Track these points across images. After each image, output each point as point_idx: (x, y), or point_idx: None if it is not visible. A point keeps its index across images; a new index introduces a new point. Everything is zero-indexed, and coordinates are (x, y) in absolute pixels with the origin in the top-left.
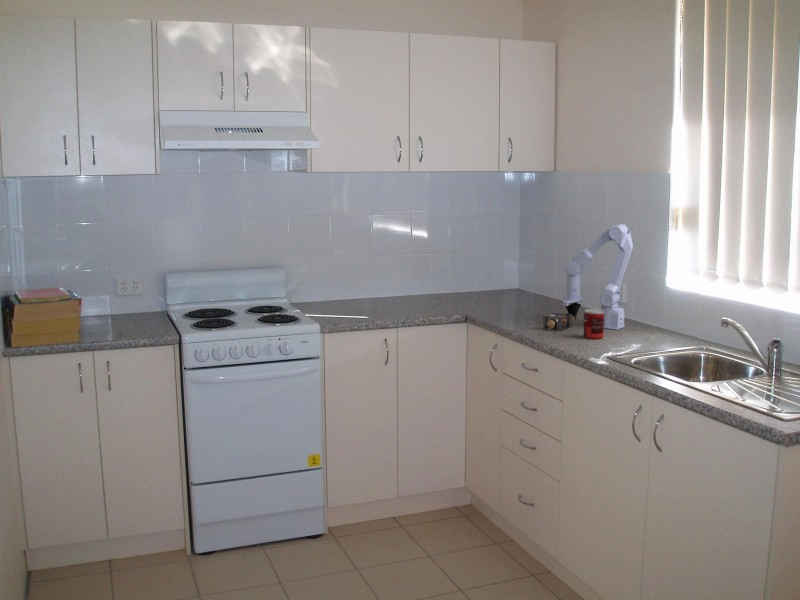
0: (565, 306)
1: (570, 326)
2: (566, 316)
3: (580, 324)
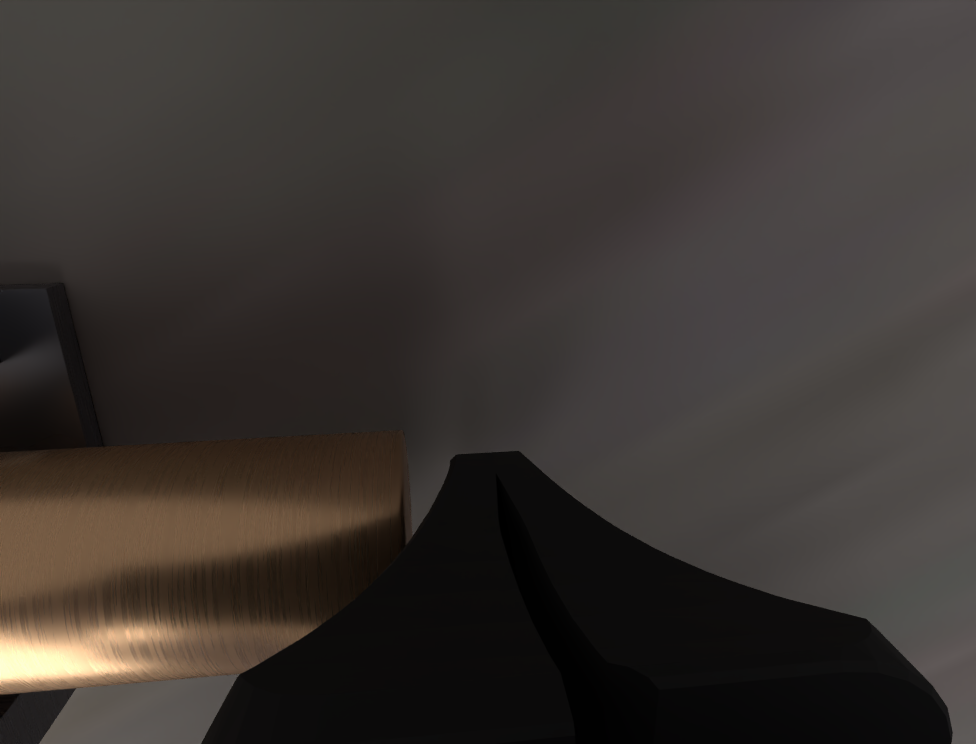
0: (236, 687)
1: None
2: (10, 682)
3: None
